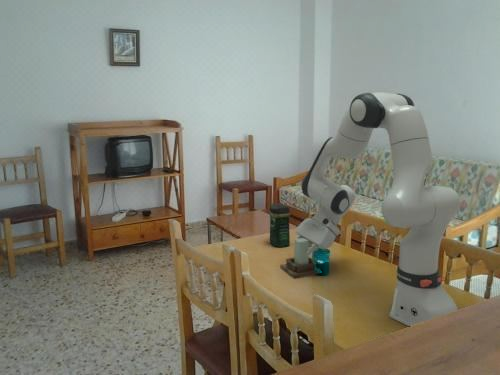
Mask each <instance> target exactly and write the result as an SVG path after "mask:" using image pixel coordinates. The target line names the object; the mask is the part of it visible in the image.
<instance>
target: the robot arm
mask: <svg viewBox="0 0 500 375" xmlns="http://www.w3.org/2000/svg"><path fill="white" fill-rule="evenodd" d="M374 129H384V130H386V131H387V134H388V139H389V146H390V151H391V158H392V165H393V180H392V184H391V187H390V189H389V191H388V193H387V194H386V196H385V197H384V199H383V200H382V203H381V215H382V218H383V219H384V221H385V222H386V223H387V225H389V227H390V226H391V227H394V228H404V229H405V228H406V229H409V228H410V230H409V232H408V233H407V234H406V235H405V236H404V237H403V238H402V239H401V241H400V243H399V255H398V257H399V258H398V265H397V267H396V279H397V283H396V285H395V286H396V287H395V289H394V295H393V299H392V300H393V301H392V305H391V307H390V308H391V310H390V312H389V318H391V319H393V320H395V321H398V322H400V323H402V324H403V325H406V327H409V326H411V325H414V324H417V323H420V322H423V321H426V320H429V319H432V318H435V317H438V316H441V315H445V314H448V313H451V312H454V311H457V310H458V306H457V304H456V302H455V300H454V298H453V297H451V296H450V295H449V293H448V292H447V291H446V290H445V288H444V286H442V282H444V281H445V280H444V279H445V277H444V276H443V277H441V275H440V271H439V269H438V268H439V265H438V264H439V257H440V256H439V255H440V254H439V253H440V247H441V243H442V240H443V237H444V235H445V232H446V230H447V228H448V226H449V224H450V223H451V221H452V220H453V219H454V218H456V216H457V215H458V213H459V212H460V209H461V199H460V196H459V194H458V192H457V191H455V189H454V188H452V187H448V186H443V185H431V186H425V178H426V175H427V173H428V172H429V171H430V170H431V169H432V167H433V165H434V160H433V153H432V148H431V143H430V139H429V134H428V129H427V125H426V122H425V120H424V118H423V115H422V112H421V110H420V109H419V108H418V107H416V106H415V103H414V101H413V99H412V98H411V97H409V96H408V95H405V94H402V93H390V92H383V91H382V92H379V91H378V92H365V93H360V94H358V95H356V96H355V97H354V98H353V99H352V101H351V102H350V105H349V106H348V107H347V109H346V111H345V113H344V115H343V116H342V119H341V121H340V124H339V126H338V128H337V132H336V133H335V135H334V136H331V137H328V138H327V139H326V140H325V142H324V143H323V144H322V146H321V148H320V150H319V152H318V153H317V155H316V157H315V159H314V161H313V163H312V164H311V166H310V168H309V170H308V172H307V173H306V175H304V178H303V179H302V181H301V184H300V186H301V191H302V192H301V193H302V194H303V195H304V196H306V197H307V198H309V199H311V200H313V201H314V202H315V203H317V204H319V205H321V207H320V208H319V209H318V210H317V211H316V212H317V213H316V214H315V215H314V216H313V217H310V218H311V219H310V218H309V217H308V218H305V219H304V220H303V221H302V222H300V224H298V226H297V227H296V228H295V230H294V232H295V234H296V235H297V236H296V238H295V239H299V238H305V239H306V240H308V241H309V242H311V243H312V247H310V246H309V249H308V248H307V249H306V251H305V253H306V254H308V255H309V256H310V255H312V253H314V252H316V251H318V249H321V250H323V251H325V250H327V249H328V248H329V247H330V246H331V245H332V243H333V242H334V241H335V239H336V237H338V236H339V235H340V234H341V230H340V229H339V228H338V224H339V222H340V220H341V219H342V218H343V217H344V216H345V215H346V214H347V212H348V211H349V210H350V209H351V207H352V205H353V204H354V202H355V200H356V199H357V198H356V197H357V194H356V192H355V191H354V190H353V189H352V188H351V187H350V186H348V185H347V184H341V185H339V184H337V183H336V182H334V181H332V180H330V179H329V178H327V177H326V175H325V171H326V169H327V167H328V165H329V163H330V161H331V159H332V158H333V157H337V158H343V159H352V158H357V157H359V156H360V155H362V154H363V153H364V152H365V151H366V149H367V147H368V144H369V142H370V139H371V136H372V134H373V130H374ZM292 245H293V246H294V243H293V244H292Z"/></svg>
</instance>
